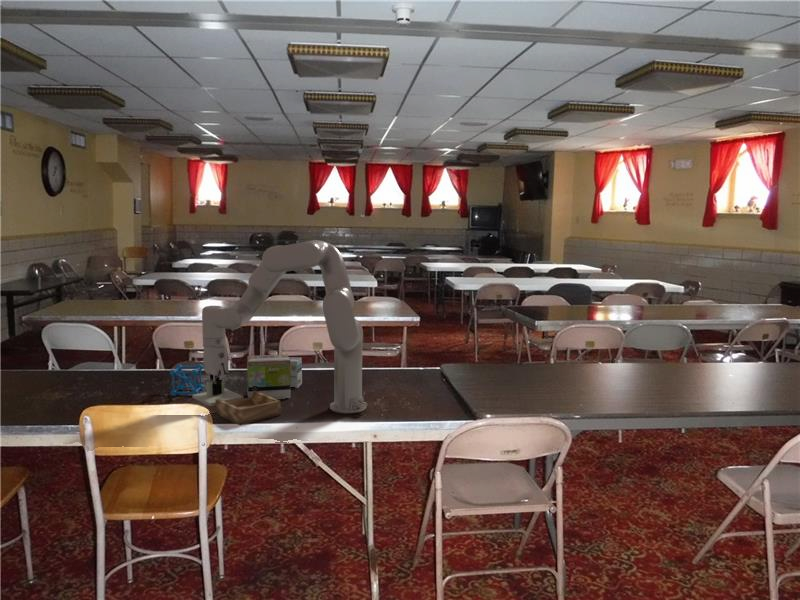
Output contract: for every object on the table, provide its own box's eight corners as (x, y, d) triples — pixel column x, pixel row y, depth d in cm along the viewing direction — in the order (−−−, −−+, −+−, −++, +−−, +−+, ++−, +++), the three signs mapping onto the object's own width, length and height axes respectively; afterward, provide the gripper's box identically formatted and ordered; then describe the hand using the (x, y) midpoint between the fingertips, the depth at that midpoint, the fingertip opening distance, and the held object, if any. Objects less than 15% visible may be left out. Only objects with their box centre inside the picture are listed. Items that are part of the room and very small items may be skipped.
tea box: (248, 402, 218) (247, 361, 216) (247, 394, 228) (246, 355, 226) (291, 399, 223) (290, 359, 221) (288, 391, 232) (287, 353, 230)
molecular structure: (204, 389, 234) (203, 363, 233) (197, 396, 224) (196, 370, 223) (177, 389, 233) (176, 363, 232) (169, 397, 224) (168, 370, 222)
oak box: (280, 415, 204) (280, 400, 204) (239, 425, 194) (239, 410, 194) (255, 404, 216) (255, 390, 215) (215, 413, 206) (215, 399, 205)
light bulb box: (302, 383, 243) (302, 357, 241) (298, 388, 236) (297, 361, 235) (276, 382, 244) (275, 356, 242) (270, 387, 237) (270, 360, 236)
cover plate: (243, 399, 213) (243, 382, 212) (209, 406, 204) (209, 388, 204) (225, 390, 222) (224, 374, 221) (192, 397, 214) (191, 380, 213)
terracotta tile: (242, 406, 214) (242, 404, 213) (210, 413, 205) (210, 412, 205) (225, 398, 222) (225, 397, 222) (194, 405, 214) (194, 403, 214)
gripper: (235, 344, 209) (236, 396, 211) (213, 336, 220) (215, 386, 222) (214, 347, 204) (216, 400, 206) (193, 339, 215) (195, 390, 217)
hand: (215, 393), depth 214 cm, fingers closed on cover plate, 1 cm apart
